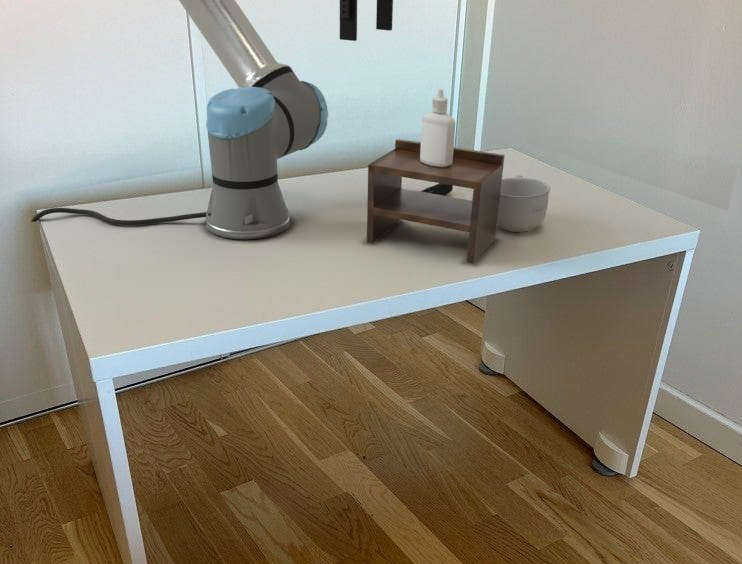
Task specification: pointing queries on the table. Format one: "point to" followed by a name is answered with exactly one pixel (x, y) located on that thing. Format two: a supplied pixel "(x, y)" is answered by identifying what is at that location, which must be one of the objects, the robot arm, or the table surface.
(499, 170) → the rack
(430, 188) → the electric trimmer
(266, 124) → the robot arm
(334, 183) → the table surface
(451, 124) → the eye dropper bottle
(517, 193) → the teacup
